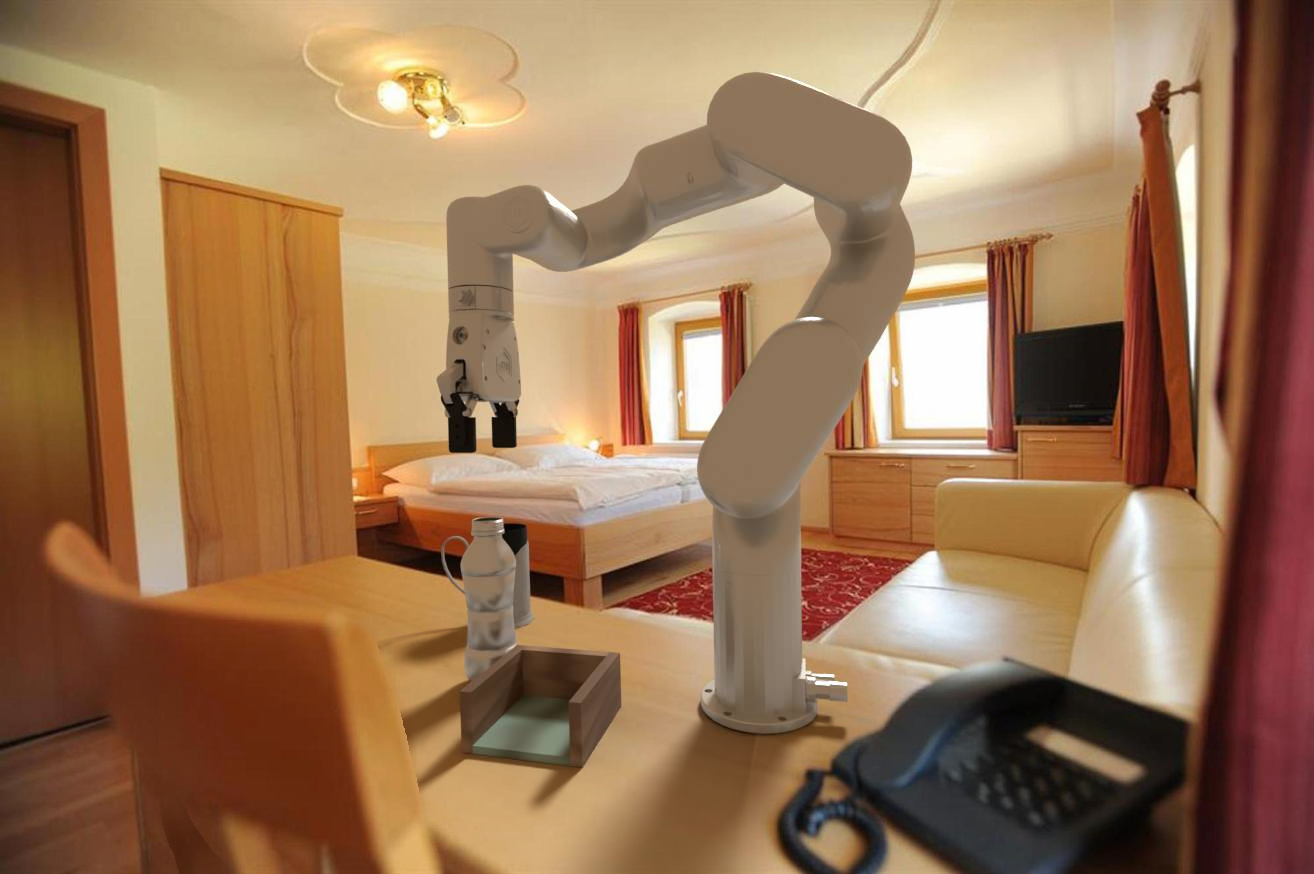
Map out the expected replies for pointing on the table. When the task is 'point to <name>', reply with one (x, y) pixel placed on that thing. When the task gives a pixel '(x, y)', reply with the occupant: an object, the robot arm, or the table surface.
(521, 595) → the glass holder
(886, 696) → the table surface
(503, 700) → the u rest
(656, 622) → the table surface
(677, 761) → the table surface
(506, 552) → the plastic bottle
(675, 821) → the table surface
